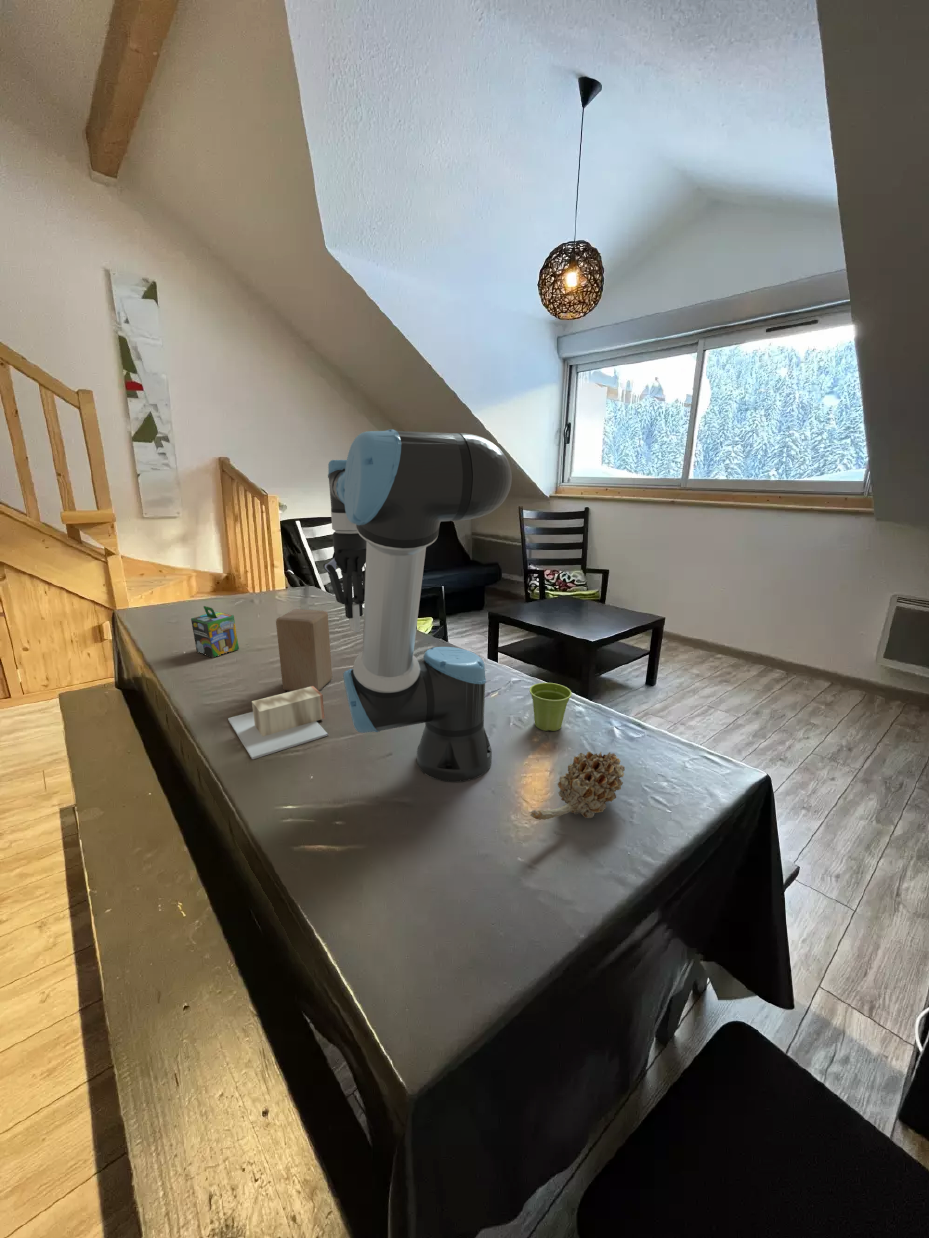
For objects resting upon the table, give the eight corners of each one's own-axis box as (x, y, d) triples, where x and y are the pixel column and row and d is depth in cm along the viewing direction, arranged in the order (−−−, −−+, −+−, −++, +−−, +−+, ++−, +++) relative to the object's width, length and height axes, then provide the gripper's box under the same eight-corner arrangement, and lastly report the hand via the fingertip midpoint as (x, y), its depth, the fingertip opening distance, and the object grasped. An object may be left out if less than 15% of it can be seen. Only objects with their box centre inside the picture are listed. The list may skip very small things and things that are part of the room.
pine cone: (586, 777, 98) (590, 731, 95) (632, 800, 91) (638, 752, 88) (512, 833, 83) (515, 781, 80) (561, 865, 76) (566, 810, 73)
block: (316, 695, 130) (310, 621, 125) (281, 691, 132) (273, 618, 126) (333, 679, 140) (329, 610, 134) (300, 676, 142) (294, 607, 136)
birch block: (322, 694, 116) (259, 711, 108) (324, 718, 118) (262, 736, 110) (313, 685, 120) (251, 701, 112) (314, 708, 122) (254, 725, 114)
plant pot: (544, 711, 123) (546, 678, 121) (576, 725, 117) (579, 691, 114) (519, 724, 117) (521, 690, 114) (552, 740, 111) (555, 704, 108)
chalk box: (239, 650, 161) (234, 605, 156) (212, 658, 153) (205, 612, 149) (222, 644, 165) (216, 600, 161) (195, 652, 158) (188, 607, 154)
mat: (328, 735, 111) (327, 733, 111) (252, 759, 102) (252, 757, 102) (296, 701, 127) (296, 700, 126) (228, 720, 117) (228, 718, 117)
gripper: (367, 527, 121) (371, 621, 128) (315, 531, 113) (322, 631, 120) (382, 530, 116) (386, 629, 122) (329, 534, 108) (336, 639, 115)
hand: (355, 630), depth 121 cm, fingers closed
